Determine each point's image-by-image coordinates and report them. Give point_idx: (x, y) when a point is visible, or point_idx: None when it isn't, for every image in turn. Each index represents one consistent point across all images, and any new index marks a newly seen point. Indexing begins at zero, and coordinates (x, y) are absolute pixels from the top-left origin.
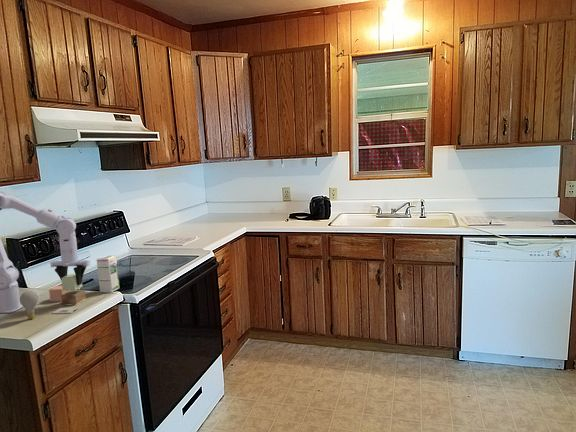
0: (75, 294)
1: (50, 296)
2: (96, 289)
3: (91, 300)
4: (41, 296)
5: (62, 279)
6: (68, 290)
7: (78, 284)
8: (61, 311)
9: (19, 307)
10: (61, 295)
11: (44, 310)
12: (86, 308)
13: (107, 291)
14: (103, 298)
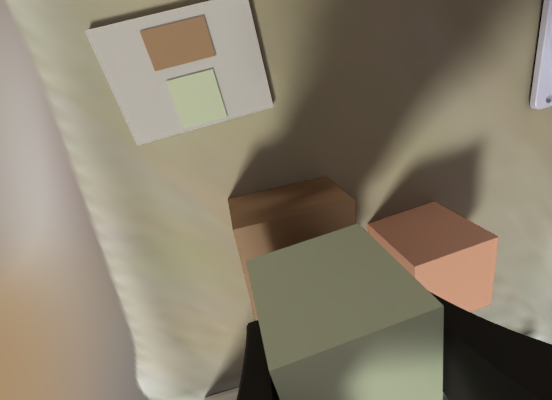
0: (255, 246)
1: (454, 216)
2: None
3: (205, 284)
4: (524, 246)
5: (416, 296)
6: (307, 240)
7: (250, 326)
8: (187, 28)
9: (548, 45)
10: (351, 200)
11: (364, 56)
12: (84, 163)
13: (229, 393)
14: (162, 328)
